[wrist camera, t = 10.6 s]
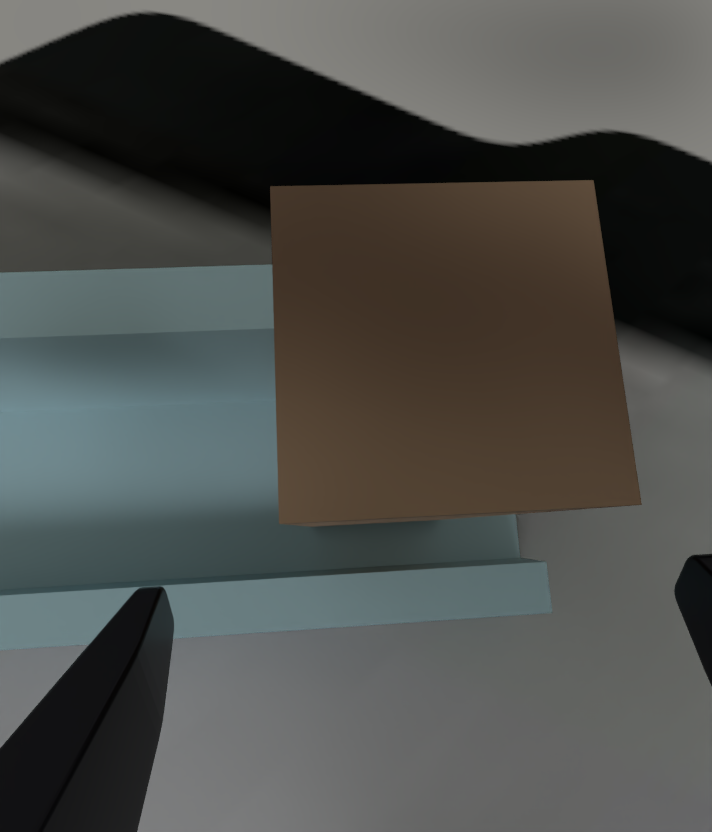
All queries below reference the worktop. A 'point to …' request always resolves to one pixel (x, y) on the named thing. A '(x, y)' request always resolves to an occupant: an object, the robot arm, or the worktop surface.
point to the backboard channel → (193, 475)
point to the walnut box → (445, 353)
